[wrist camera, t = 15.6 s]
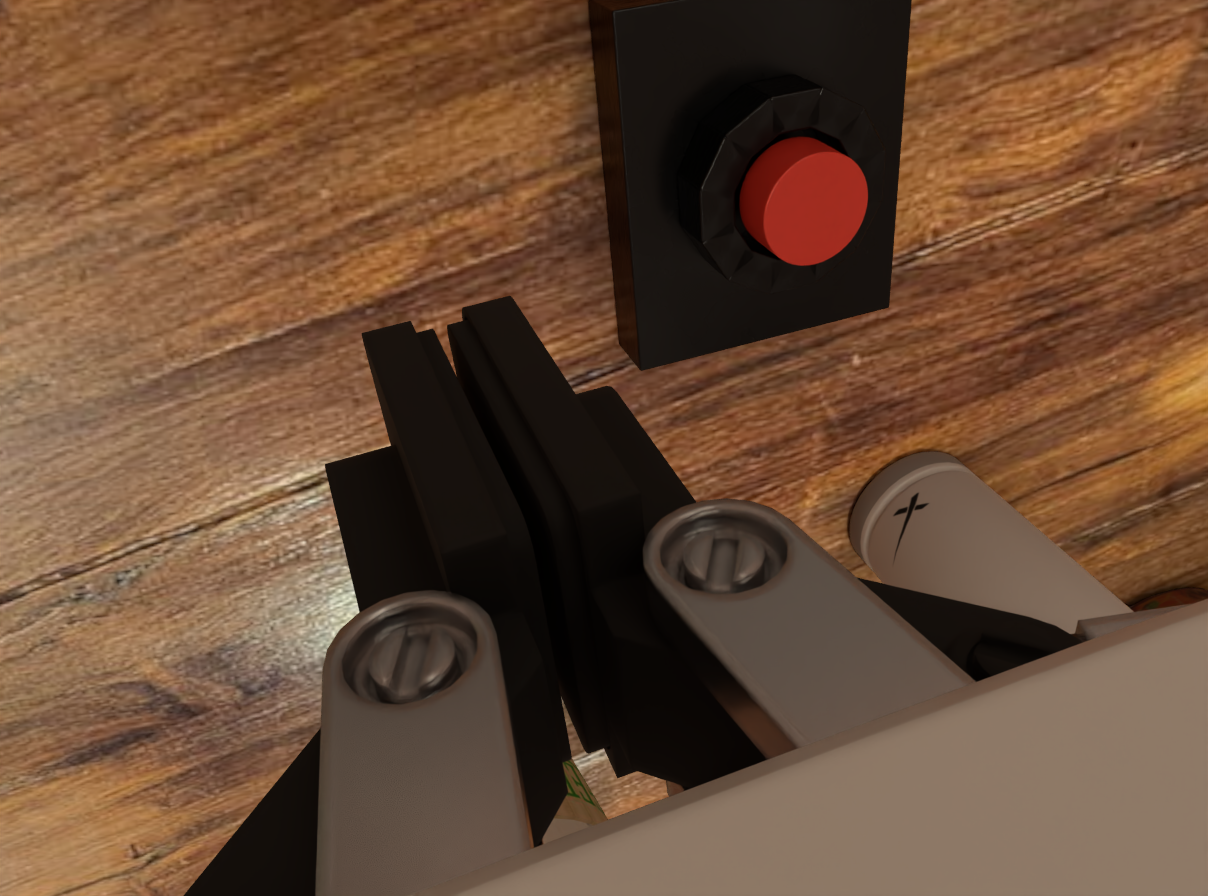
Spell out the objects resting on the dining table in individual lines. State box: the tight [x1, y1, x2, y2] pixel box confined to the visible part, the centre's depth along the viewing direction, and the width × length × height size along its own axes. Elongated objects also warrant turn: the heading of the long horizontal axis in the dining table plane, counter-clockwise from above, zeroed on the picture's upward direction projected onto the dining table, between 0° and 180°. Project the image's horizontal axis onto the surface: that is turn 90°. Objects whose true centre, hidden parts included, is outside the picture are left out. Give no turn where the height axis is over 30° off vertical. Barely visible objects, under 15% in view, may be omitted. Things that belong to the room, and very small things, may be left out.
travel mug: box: [849, 452, 1133, 634], centre depth 40 cm, size 6×7×20 cm
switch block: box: [589, 0, 912, 371], centre depth 35 cm, size 12×10×4 cm
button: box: [739, 137, 868, 266], centre depth 33 cm, size 4×4×2 cm
